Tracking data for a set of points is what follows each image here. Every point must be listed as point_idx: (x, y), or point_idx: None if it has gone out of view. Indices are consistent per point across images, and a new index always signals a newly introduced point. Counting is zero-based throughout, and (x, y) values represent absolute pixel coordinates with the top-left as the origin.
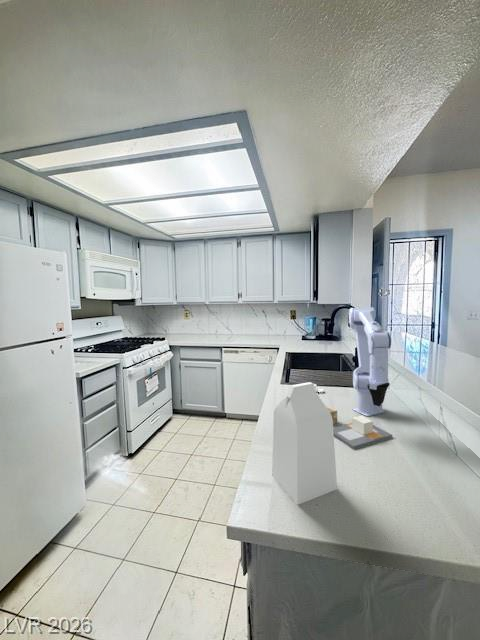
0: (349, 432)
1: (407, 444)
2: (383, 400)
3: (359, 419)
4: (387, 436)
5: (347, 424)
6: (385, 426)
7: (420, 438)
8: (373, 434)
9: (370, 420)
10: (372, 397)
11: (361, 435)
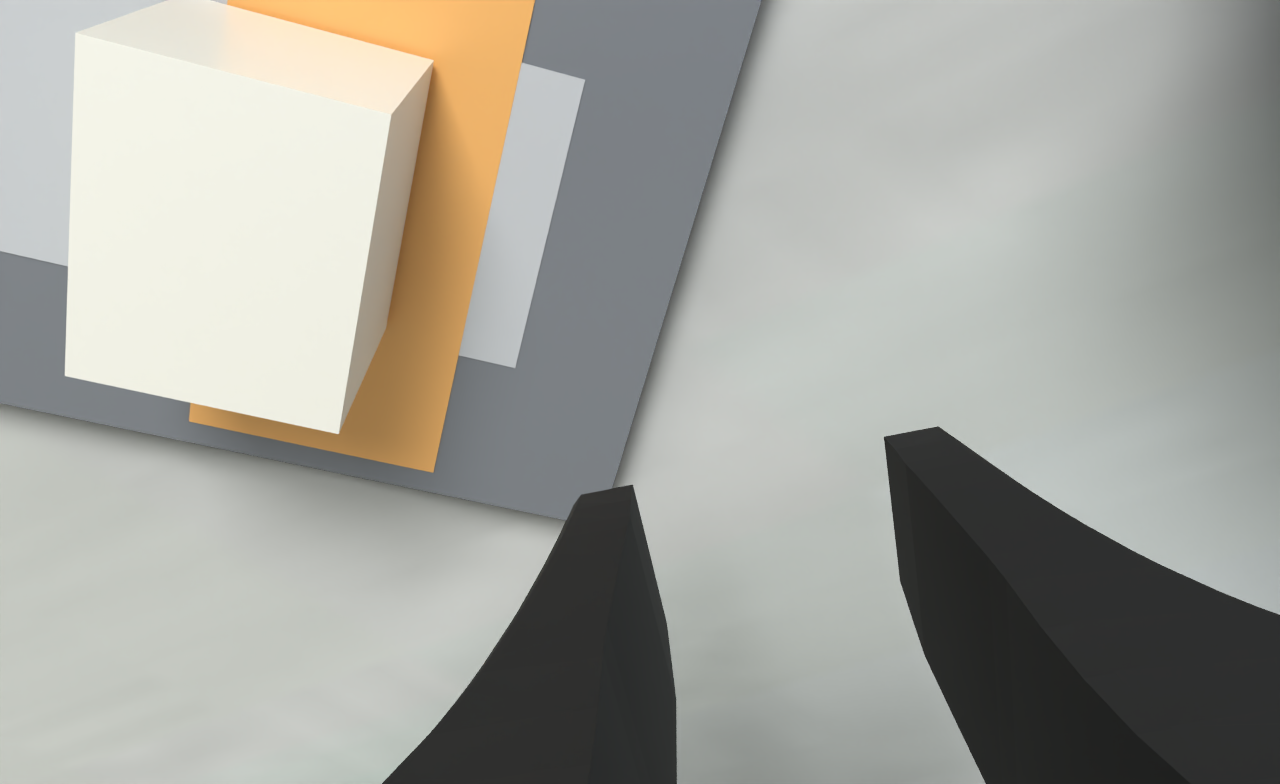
0: (15, 33)
1: None
2: (930, 661)
3: (152, 209)
4: (494, 502)
5: None
6: (916, 279)
7: (864, 705)
8: None
9: (330, 390)
10: (507, 652)
11: None
